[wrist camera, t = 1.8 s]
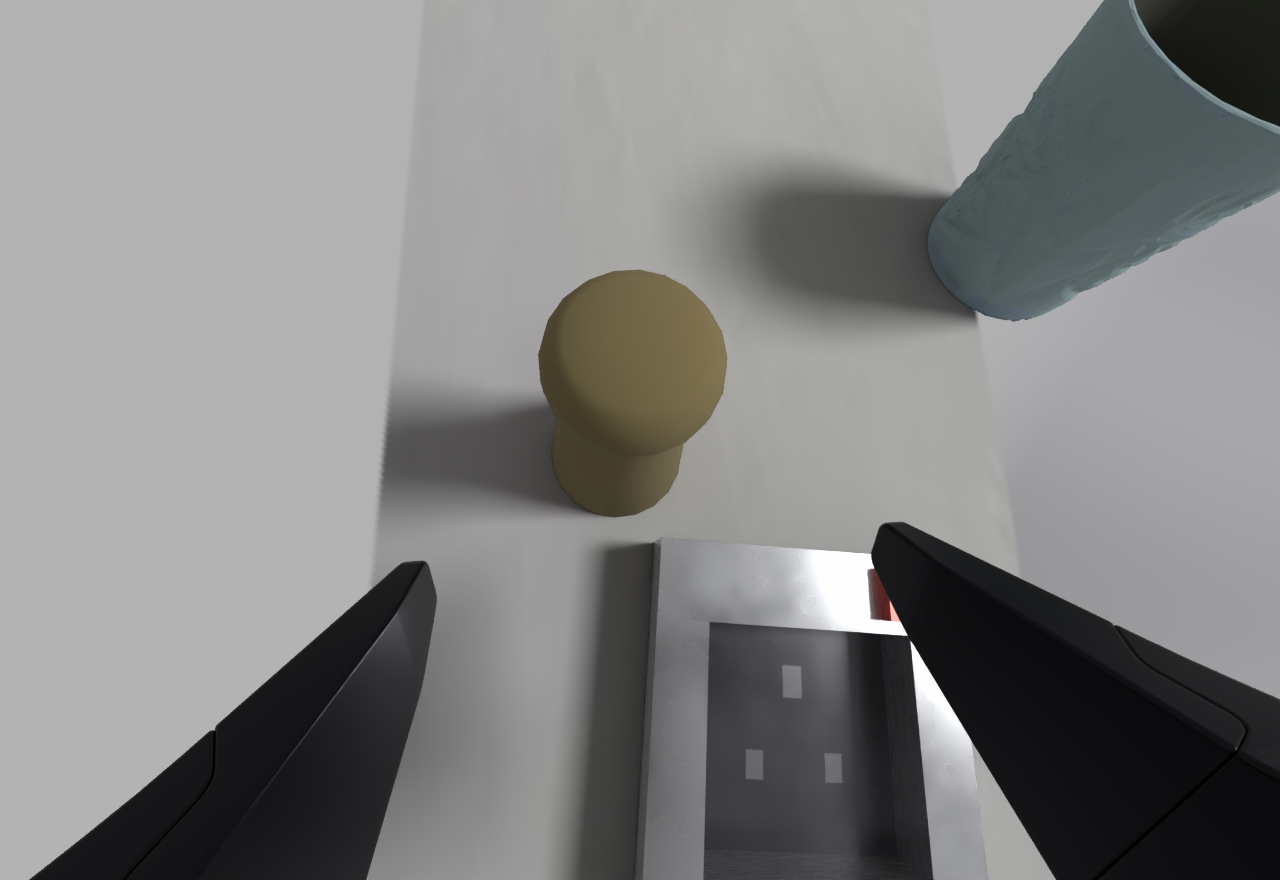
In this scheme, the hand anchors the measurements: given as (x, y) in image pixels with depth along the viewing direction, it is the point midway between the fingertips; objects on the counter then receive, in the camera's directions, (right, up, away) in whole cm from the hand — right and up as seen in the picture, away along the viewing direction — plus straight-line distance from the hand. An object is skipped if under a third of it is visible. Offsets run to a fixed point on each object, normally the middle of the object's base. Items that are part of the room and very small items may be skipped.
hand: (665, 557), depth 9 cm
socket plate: (+6, -9, +10) cm, 15 cm away
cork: (-2, +2, +13) cm, 13 cm away
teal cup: (+20, +13, +19) cm, 30 cm away
